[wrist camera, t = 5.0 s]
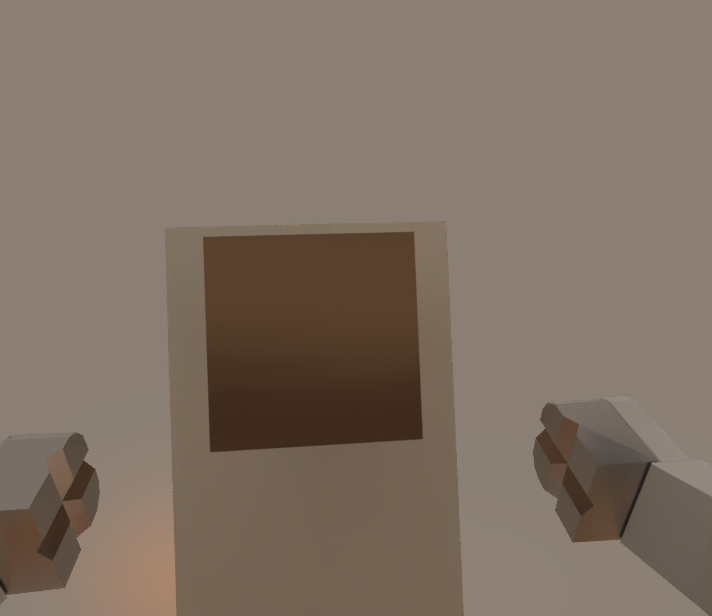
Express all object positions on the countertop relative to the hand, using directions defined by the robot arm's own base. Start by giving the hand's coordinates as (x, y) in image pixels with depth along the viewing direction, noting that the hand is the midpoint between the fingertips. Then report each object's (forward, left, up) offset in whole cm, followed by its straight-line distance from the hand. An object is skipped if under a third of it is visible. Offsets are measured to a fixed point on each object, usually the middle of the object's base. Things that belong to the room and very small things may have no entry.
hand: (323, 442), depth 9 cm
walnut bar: (+4, -6, 0) cm, 7 cm away
